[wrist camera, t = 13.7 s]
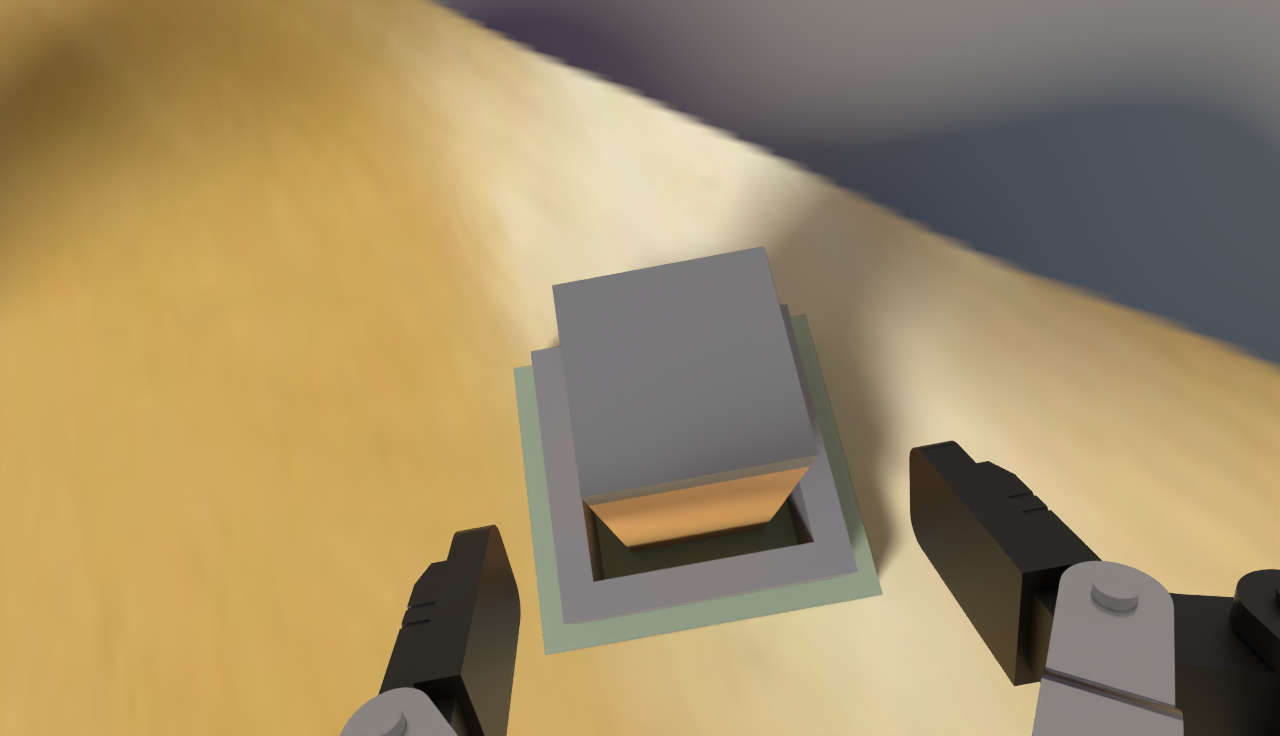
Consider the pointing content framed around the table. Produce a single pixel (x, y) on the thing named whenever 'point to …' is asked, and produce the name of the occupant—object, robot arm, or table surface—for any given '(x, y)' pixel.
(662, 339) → the grey-capped square pillar
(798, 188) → the table surface
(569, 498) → the grey square tray
